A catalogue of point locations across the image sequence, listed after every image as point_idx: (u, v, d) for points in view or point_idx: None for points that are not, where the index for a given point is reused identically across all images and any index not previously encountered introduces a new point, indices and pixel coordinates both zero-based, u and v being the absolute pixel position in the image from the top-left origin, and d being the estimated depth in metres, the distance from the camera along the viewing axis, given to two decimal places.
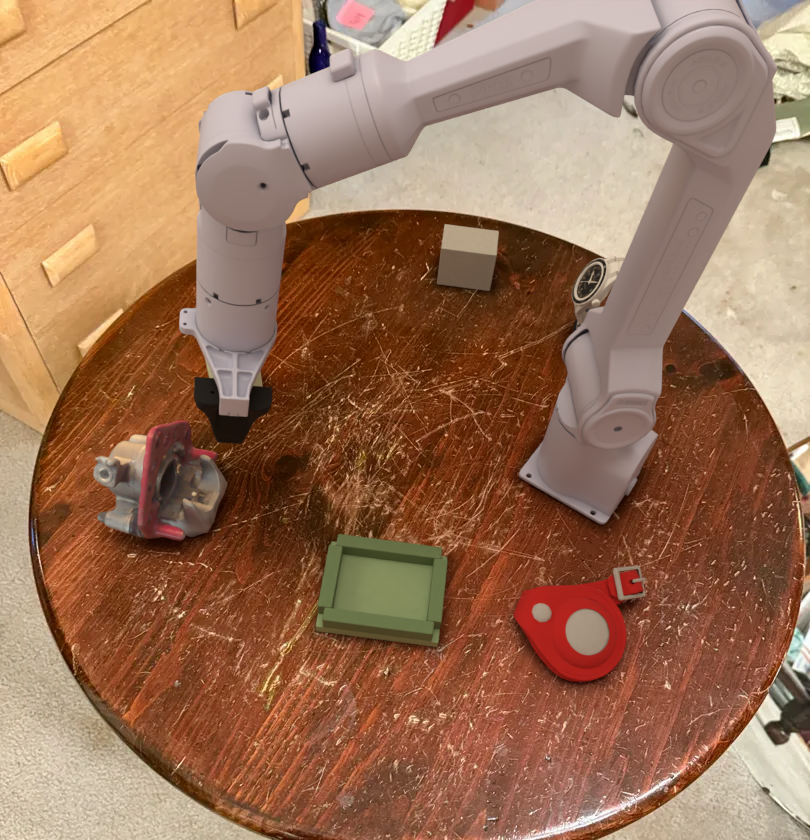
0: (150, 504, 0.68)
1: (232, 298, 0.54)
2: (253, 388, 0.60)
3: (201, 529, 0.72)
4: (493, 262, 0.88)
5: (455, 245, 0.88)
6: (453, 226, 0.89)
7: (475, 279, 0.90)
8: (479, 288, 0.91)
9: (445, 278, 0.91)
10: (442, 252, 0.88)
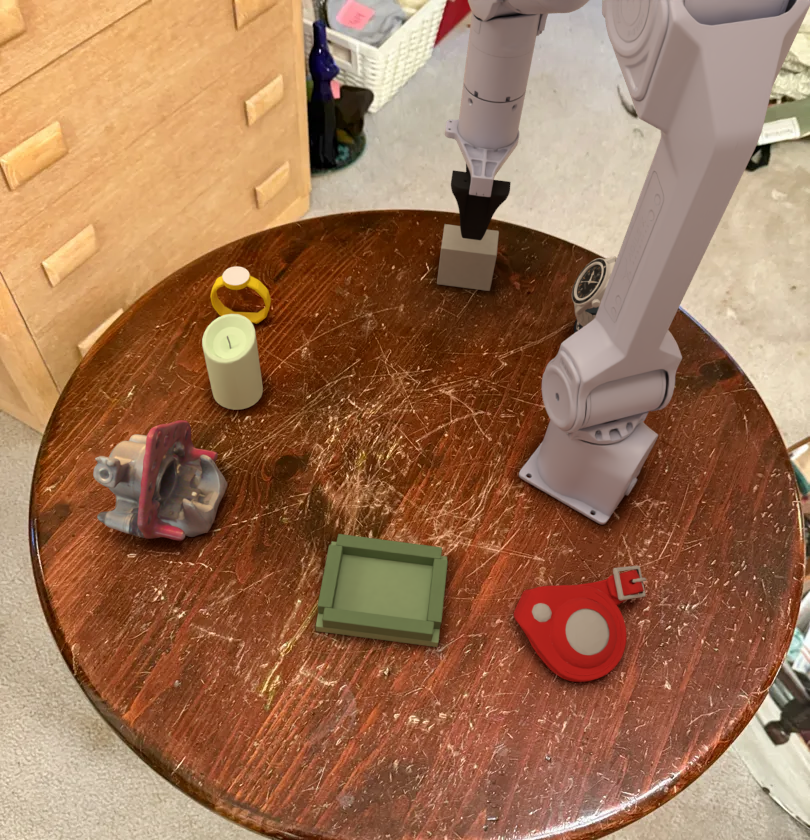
0: (150, 504, 0.68)
1: (465, 80, 0.73)
2: (496, 181, 0.77)
3: (201, 529, 0.72)
4: (493, 262, 0.88)
5: (455, 245, 0.88)
6: (453, 226, 0.89)
7: (475, 279, 0.90)
8: (479, 288, 0.91)
9: (445, 278, 0.91)
10: (442, 252, 0.88)
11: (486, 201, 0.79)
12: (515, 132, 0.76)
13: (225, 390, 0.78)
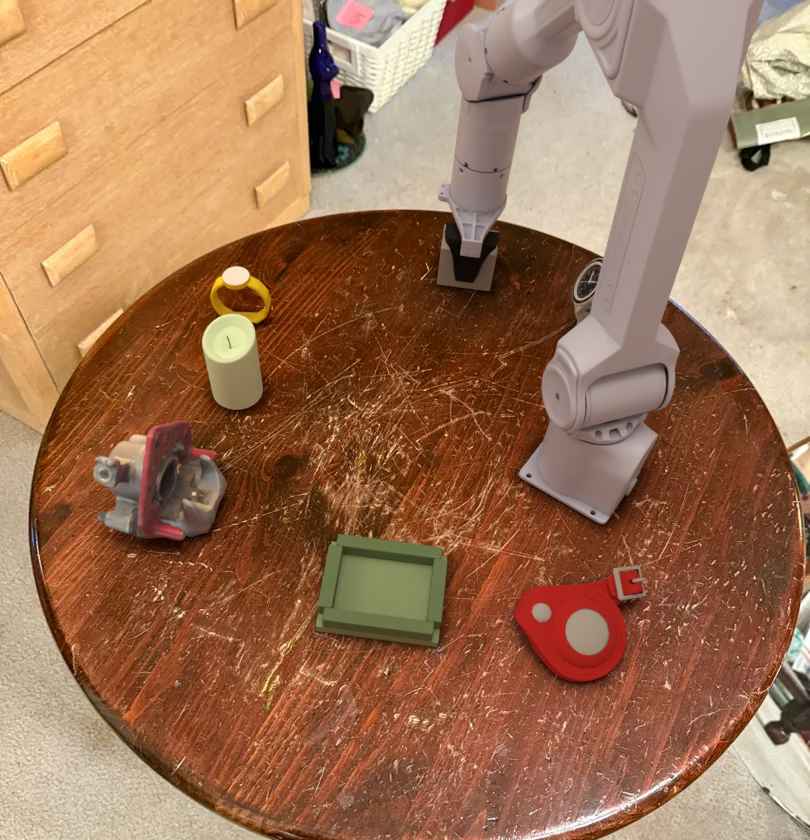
0: (150, 504, 0.68)
1: (456, 151, 0.79)
2: None
3: (201, 529, 0.72)
4: (493, 262, 0.88)
5: None
6: None
7: (475, 280, 0.90)
8: (479, 289, 0.91)
9: (445, 278, 0.91)
10: (442, 252, 0.88)
11: None
12: (503, 197, 0.82)
13: (225, 390, 0.78)
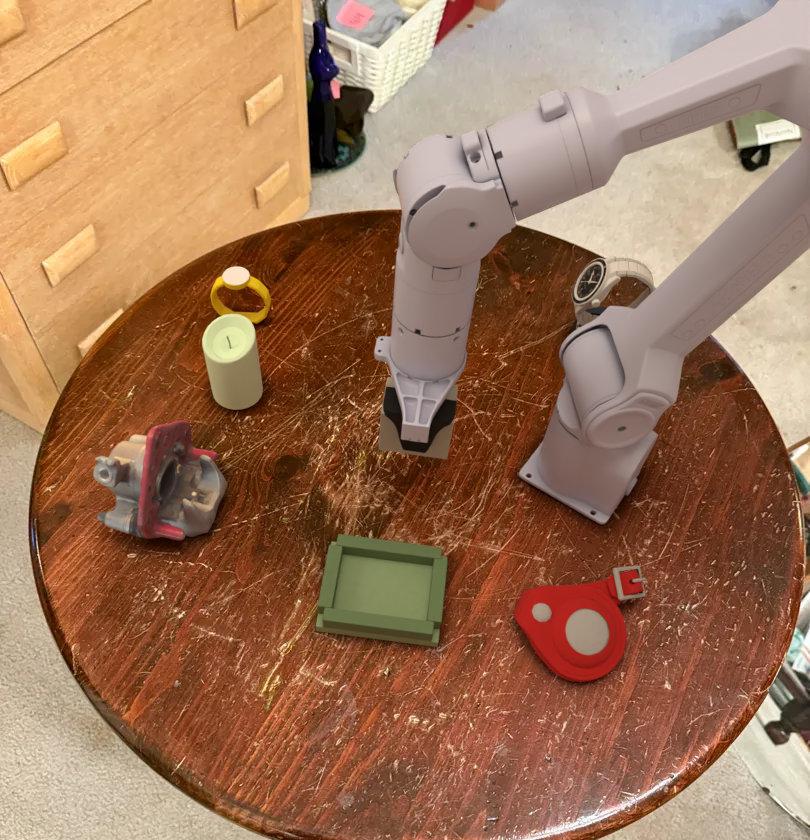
0: (150, 504, 0.68)
1: (434, 331, 0.57)
2: None
3: (201, 529, 0.72)
4: (449, 430, 0.67)
5: None
6: None
7: None
8: (434, 456, 0.70)
9: (389, 444, 0.70)
10: (382, 417, 0.67)
11: None
12: (460, 360, 0.61)
13: (225, 390, 0.78)
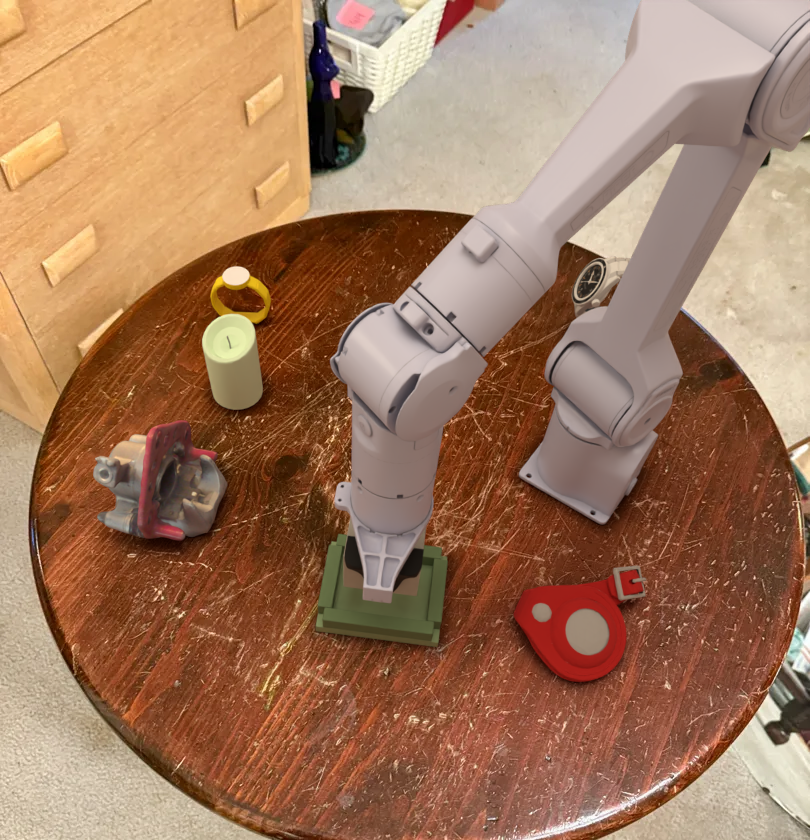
0: (150, 504, 0.68)
1: (417, 489, 0.53)
2: None
3: (201, 529, 0.72)
4: None
5: None
6: None
7: None
8: (402, 593, 0.66)
9: (354, 582, 0.65)
10: None
11: None
12: (425, 512, 0.57)
13: (225, 390, 0.78)
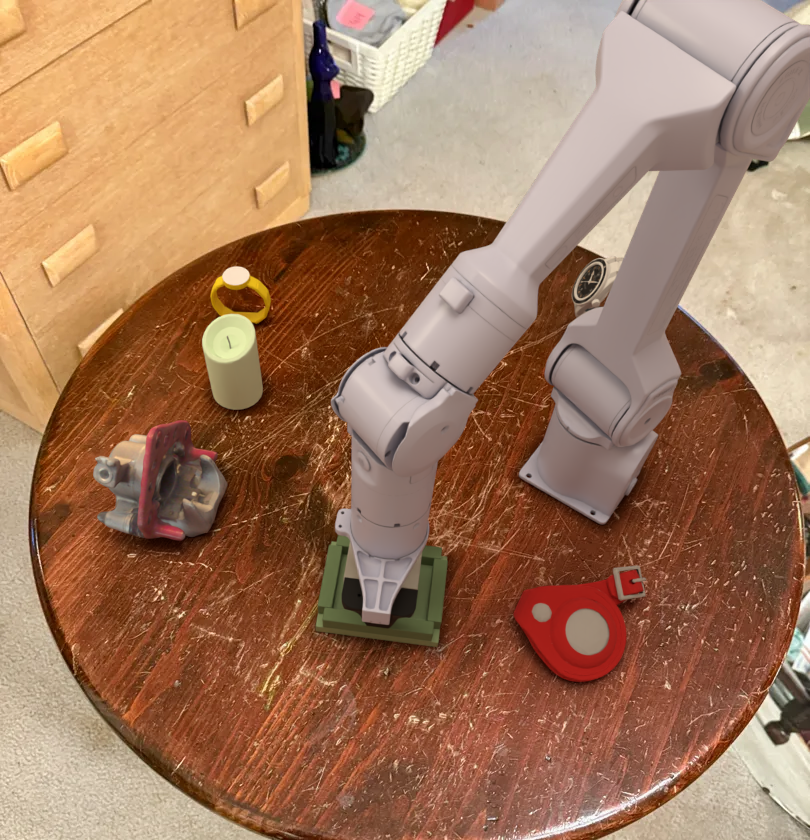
0: (150, 504, 0.68)
1: (413, 518, 0.56)
2: (399, 591, 0.61)
3: (201, 529, 0.72)
4: None
5: None
6: None
7: None
8: None
9: None
10: None
11: None
12: (421, 537, 0.60)
13: (225, 390, 0.78)
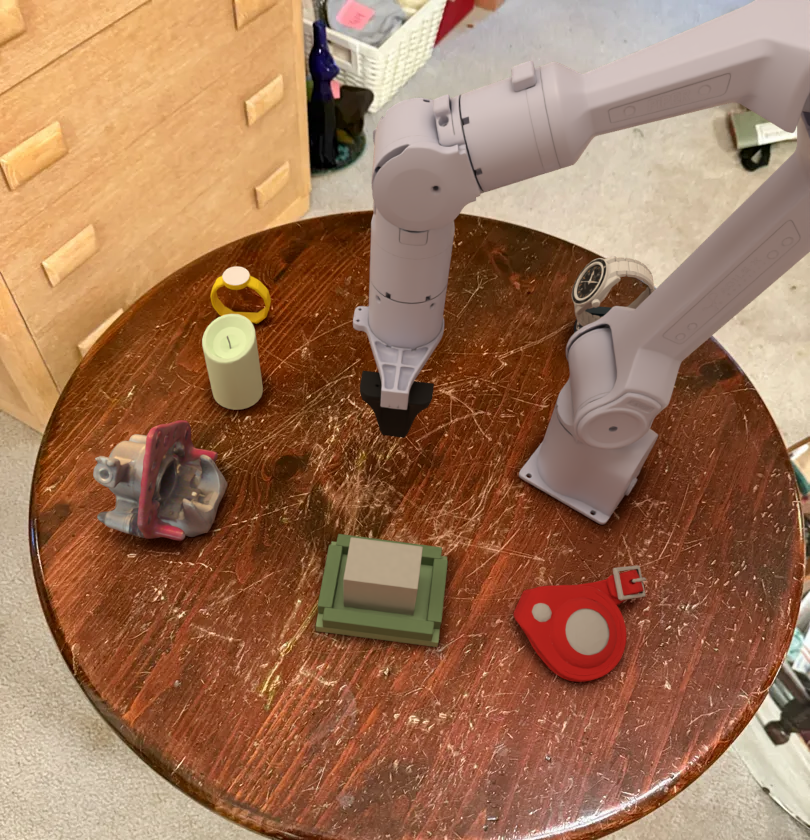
0: (150, 504, 0.68)
1: (403, 296, 0.57)
2: (416, 383, 0.63)
3: (201, 529, 0.72)
4: (414, 594, 0.66)
5: (362, 573, 0.65)
6: (362, 541, 0.67)
7: (393, 606, 0.68)
8: (400, 613, 0.69)
9: (353, 602, 0.69)
10: (345, 582, 0.66)
11: None
12: (437, 327, 0.62)
13: (225, 390, 0.78)
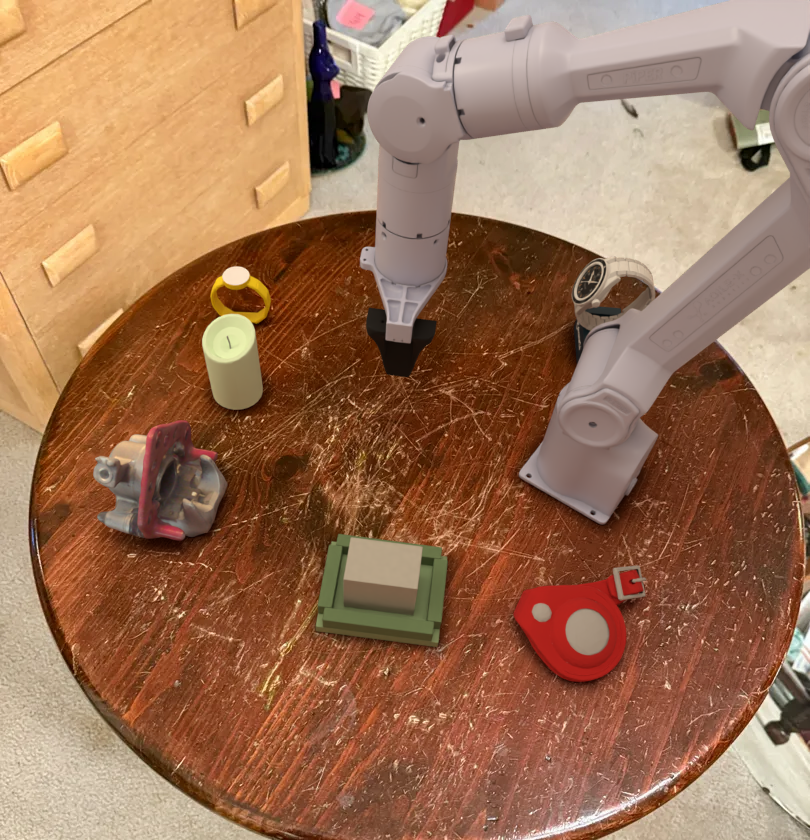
0: (150, 504, 0.68)
1: (396, 228, 0.60)
2: (419, 320, 0.66)
3: (201, 529, 0.72)
4: (414, 594, 0.66)
5: (362, 573, 0.65)
6: (362, 541, 0.67)
7: (393, 606, 0.68)
8: (400, 613, 0.69)
9: (353, 602, 0.69)
10: (345, 582, 0.66)
11: None
12: (440, 265, 0.65)
13: (225, 390, 0.78)
